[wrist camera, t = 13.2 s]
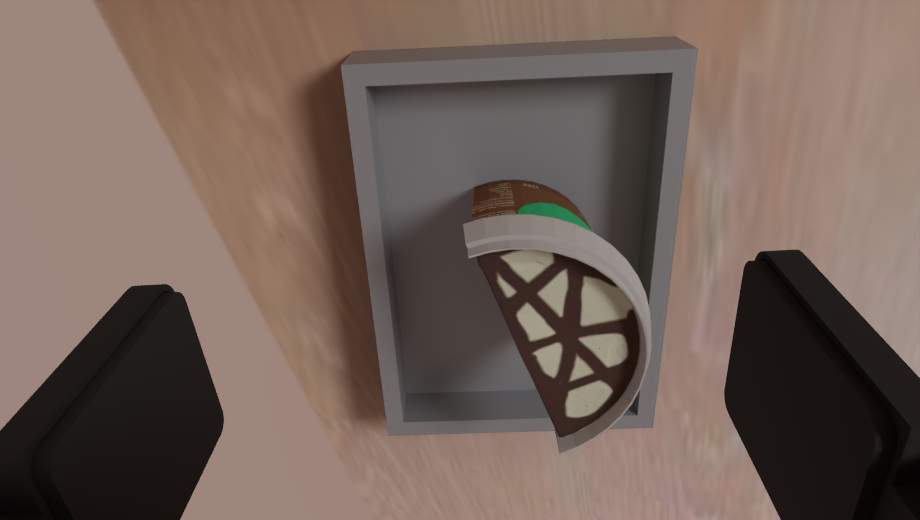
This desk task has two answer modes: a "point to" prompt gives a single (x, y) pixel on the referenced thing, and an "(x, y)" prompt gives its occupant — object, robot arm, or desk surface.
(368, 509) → the desk surface
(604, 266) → the food container
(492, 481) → the desk surface
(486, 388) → the parts tray
